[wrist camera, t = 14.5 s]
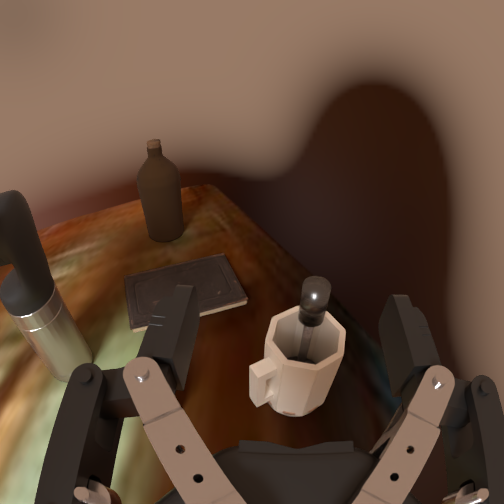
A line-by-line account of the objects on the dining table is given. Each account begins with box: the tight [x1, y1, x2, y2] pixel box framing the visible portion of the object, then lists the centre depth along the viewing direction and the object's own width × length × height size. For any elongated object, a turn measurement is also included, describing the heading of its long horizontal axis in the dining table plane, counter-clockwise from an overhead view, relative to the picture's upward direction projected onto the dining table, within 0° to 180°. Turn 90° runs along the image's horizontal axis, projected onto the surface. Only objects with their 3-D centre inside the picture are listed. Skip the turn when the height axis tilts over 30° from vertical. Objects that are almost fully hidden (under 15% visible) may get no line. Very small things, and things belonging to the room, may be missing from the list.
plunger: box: [287, 276, 331, 365], centre depth 38 cm, size 7×7×19 cm
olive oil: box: [137, 139, 184, 242], centre depth 74 cm, size 11×11×25 cm
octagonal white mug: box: [249, 306, 346, 417], centre depth 42 cm, size 10×12×14 cm
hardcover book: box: [124, 253, 248, 333], centre depth 64 cm, size 16×23×2 cm
